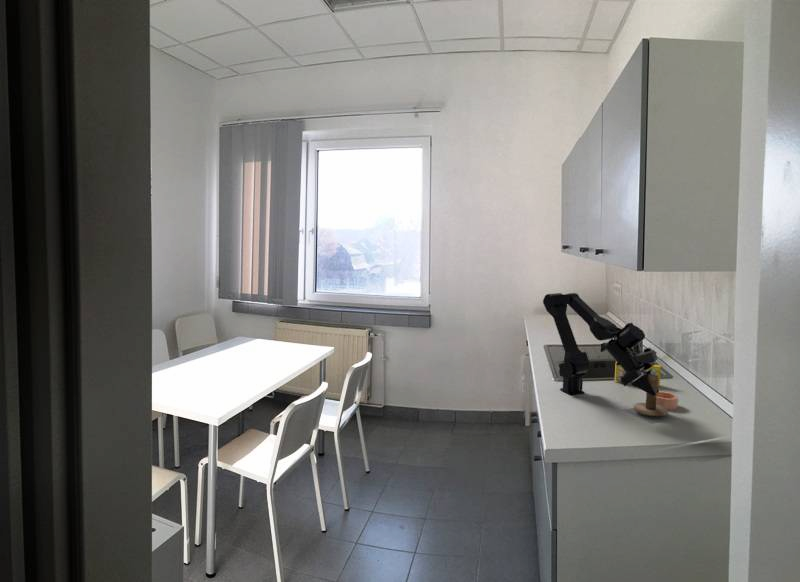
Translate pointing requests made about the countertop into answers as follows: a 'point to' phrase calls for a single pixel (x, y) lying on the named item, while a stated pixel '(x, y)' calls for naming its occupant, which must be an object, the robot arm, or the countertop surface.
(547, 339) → the countertop surface
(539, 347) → the countertop surface
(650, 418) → the grey rubber mat
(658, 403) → the terracotta bowl
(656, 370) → the candy box
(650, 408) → the walnut cover
